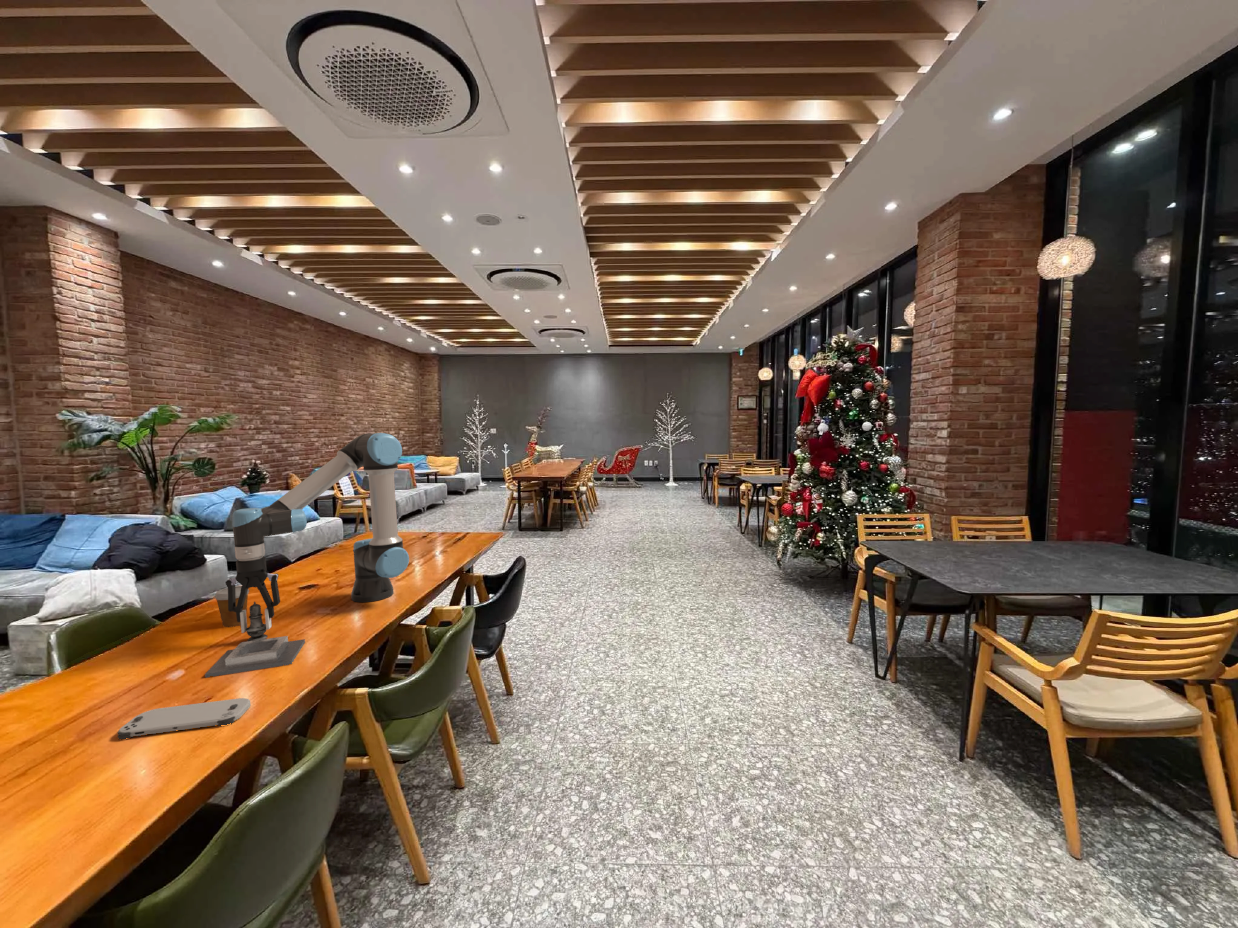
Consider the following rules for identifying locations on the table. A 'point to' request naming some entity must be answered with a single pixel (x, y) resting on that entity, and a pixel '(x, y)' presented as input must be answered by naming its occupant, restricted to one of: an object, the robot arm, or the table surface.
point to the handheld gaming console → (185, 717)
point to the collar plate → (279, 662)
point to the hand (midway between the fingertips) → (256, 629)
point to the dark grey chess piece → (256, 624)
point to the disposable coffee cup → (222, 600)
